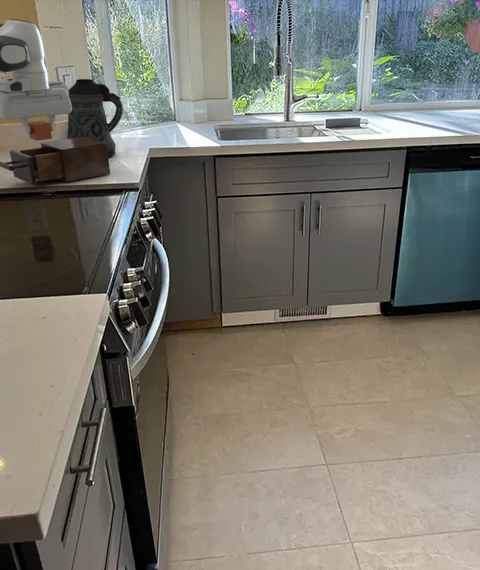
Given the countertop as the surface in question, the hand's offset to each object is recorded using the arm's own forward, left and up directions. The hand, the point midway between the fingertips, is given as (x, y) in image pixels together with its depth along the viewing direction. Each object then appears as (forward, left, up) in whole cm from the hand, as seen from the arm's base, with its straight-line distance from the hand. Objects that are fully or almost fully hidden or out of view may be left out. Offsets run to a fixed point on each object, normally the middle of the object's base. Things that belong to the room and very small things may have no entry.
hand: (39, 132), depth 171 cm
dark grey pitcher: (+27, +19, -14) cm, 36 cm away
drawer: (-3, 0, -13) cm, 13 cm away
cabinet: (+10, 0, -14) cm, 17 cm away
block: (0, 0, -2) cm, 2 cm away
